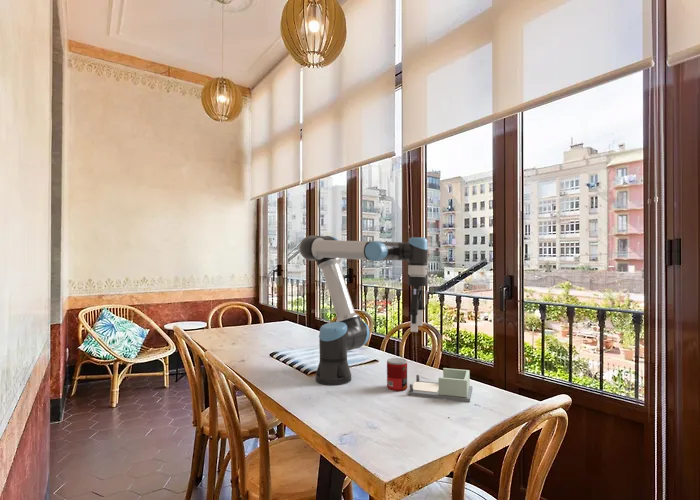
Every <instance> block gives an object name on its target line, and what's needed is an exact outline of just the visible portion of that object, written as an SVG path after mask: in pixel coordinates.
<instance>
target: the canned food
mask: <svg viewBox="0 0 700 500" xmlns="http://www.w3.org/2000/svg"><path fill="white" fill-rule="evenodd" d="M386 387H387V389H388V390H389V391H393V392H403V391H407V389H408V360H407V359H405V358H401V357H400V358H399V357H392V358H388V359H387V360H386Z"/></svg>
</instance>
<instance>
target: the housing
mask: <svg viewBox="0 0 700 500" xmlns="http://www.w3.org/2000/svg"><path fill="white" fill-rule="evenodd" d="M470 371H471V370H469V369H458V368H447V367H443V368H442V376H439V377H438V383H439V394H440V395H449V396H458V397H467V395H468V391H469V386H471V385H470V384H471V383H470V382H471V380H470V379H471V378H470V377H471V376H470V373H471V372H470Z"/></svg>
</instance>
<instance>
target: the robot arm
mask: <svg viewBox="0 0 700 500" xmlns="http://www.w3.org/2000/svg"><path fill="white" fill-rule="evenodd" d="M299 252H300V255H301V256H302V258H303V259H304V260H307V261H311V262H315V263H316V265H317V268H318V269H320V270H322V274H323V277H324V281H325V283H326V287H327V289H328V293H329V296H330V299H331V303H332V306H333V309H334V313H335V315H336V321H333V322H328V323H325V324H323V325H321V326H320V327H319V335H318V338H319V340H318V341H319V344H318V345H319V363H318V366H317V369H316V372H315V381H316V382H317V383H319V384H322V385H327V386H337V385H346V384H348V383H350V382H351V381H352V372H351V369H350V367H349V363H348V351H349V352H350V351H352V350H356V349H360V348H361V347H363V346H365V345H366V344H367V343H368V342H369V339H370V335H371V334H370V333H371V332H370V327H369V326H368V324H367V323H366V322H365V321H363V320H361V316H360V314H358V313H356V311H355V308H354V306H353V303H352V302H353V301H352V298H351V296H350V293H349V289H348V285H347V283H346V281H345V276H344V274H343V271H342V267H341V265H340V263H341V262H342V259H343V260H361V261H363V260H364V261H372V262H382V261H404V262H405V261H407V262H408V266H407V268H408V269H407V270H408V271H407V275H409V276H408V277H407V280H408V281H407V285H408V286H410V287H413V288H412V289H411V296H410V297H411V299H410V307H409V309H410V311H408V315H409V316H410V332H411V333H418V332H419V327H423V321H424V320H423V318H424V317H423V315H424V314H423V313H424V312H423V311H425V307H424V306H425V305H424V289H423V288H424V287H426V286H427V285H428V277H427V275H428V271H429V267H428V252H429V247H428V239H427V238H426V237H415V236H414V237H409V238H408V241H407V242H402V241H399V242H398V241H380V240H379V241H378V240H374V241H372V240H371V241H368V240H367V241H365V240H339V239H338V238H337V237H335V236H330V235H308V236H306V237H304V238H302V240H301V241H300V244H299Z"/></svg>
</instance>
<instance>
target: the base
mask: <svg viewBox="0 0 700 500" xmlns="http://www.w3.org/2000/svg"><path fill="white" fill-rule="evenodd" d="M415 379H416V381H415V382H414V383H413V384H412V383H411V384H409V391H408V396H411V397H412V396H413V397H420V398H430V399H439V400H447V401H455V402H463V403H464V402H465V403H471V398H472V392H473V385H470V386H469V391H468V395H467V397H458V396H449V395H440V394H439V382H437V381H435V382H434V381H427V380H425V381H424V380H420V374H416V378H415Z"/></svg>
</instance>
